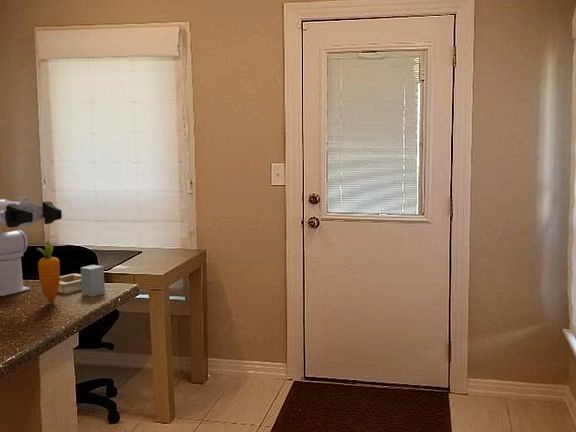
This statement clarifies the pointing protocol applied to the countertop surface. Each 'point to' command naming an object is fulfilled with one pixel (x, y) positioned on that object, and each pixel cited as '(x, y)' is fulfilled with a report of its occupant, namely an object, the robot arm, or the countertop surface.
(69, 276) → the birch well block
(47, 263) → the carrot
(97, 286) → the slate square peg
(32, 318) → the countertop surface
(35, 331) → the countertop surface
